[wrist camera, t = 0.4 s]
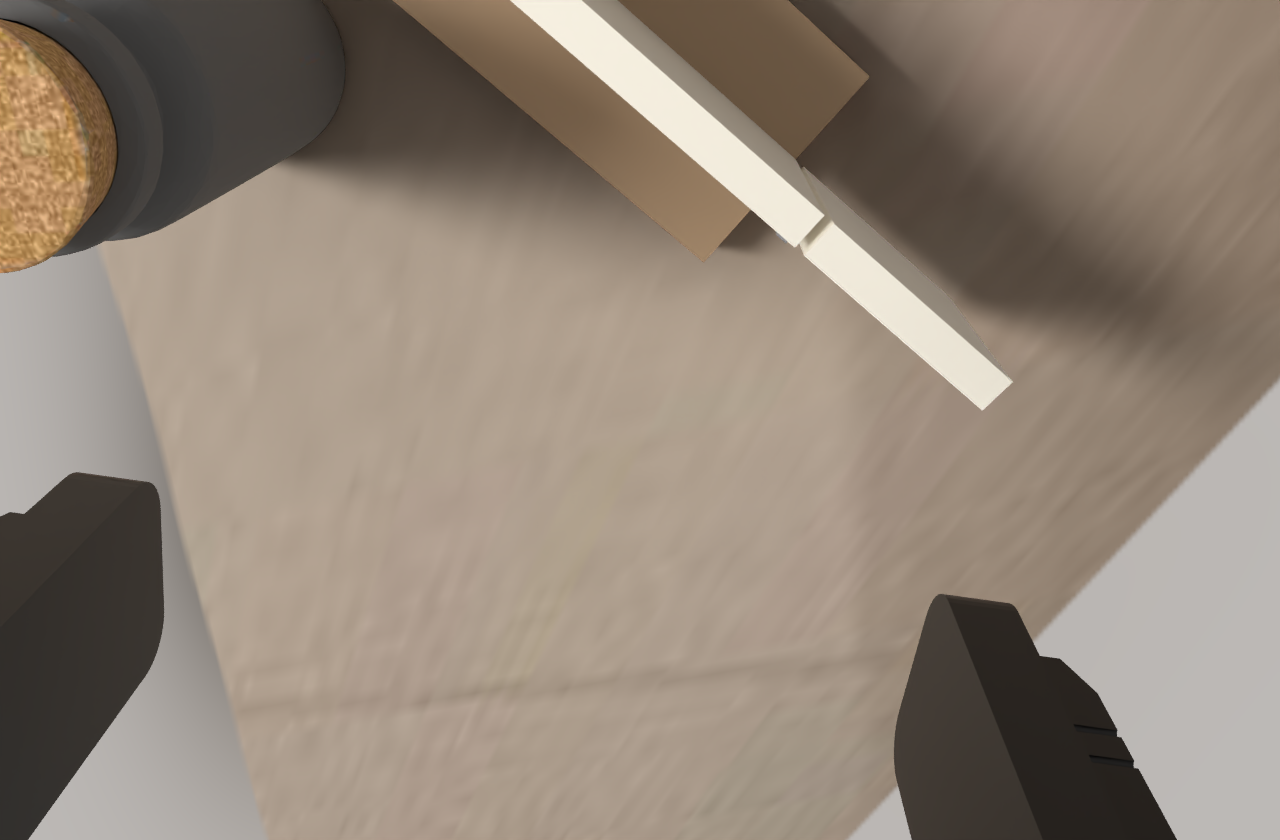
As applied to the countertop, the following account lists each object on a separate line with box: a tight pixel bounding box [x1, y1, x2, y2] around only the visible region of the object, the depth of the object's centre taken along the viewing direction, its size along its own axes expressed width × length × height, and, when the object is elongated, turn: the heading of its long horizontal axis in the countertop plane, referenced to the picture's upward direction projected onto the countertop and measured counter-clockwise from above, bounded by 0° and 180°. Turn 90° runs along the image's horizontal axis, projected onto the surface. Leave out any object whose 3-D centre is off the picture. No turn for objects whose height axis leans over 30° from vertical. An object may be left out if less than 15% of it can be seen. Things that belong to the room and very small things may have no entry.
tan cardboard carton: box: [393, 0, 870, 262], centre depth 29 cm, size 14×7×9 cm, turn 50°
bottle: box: [0, 0, 345, 273], centre depth 27 cm, size 6×6×15 cm
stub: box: [799, 166, 1012, 410], centre depth 30 cm, size 6×1×7 cm, turn 50°
